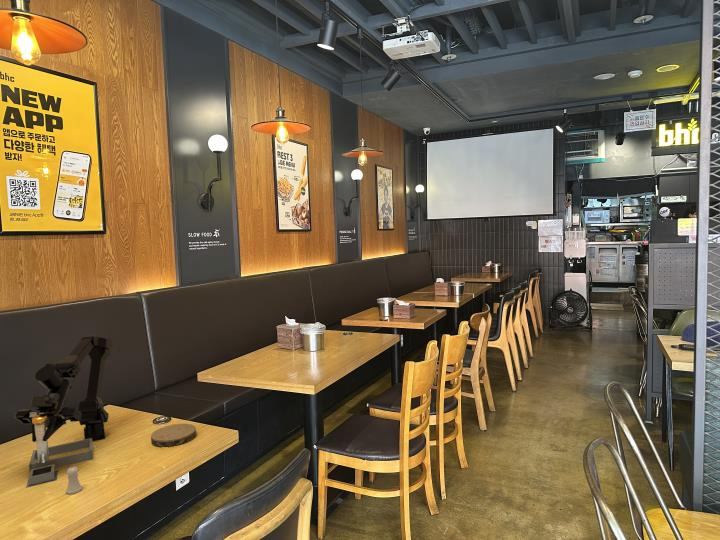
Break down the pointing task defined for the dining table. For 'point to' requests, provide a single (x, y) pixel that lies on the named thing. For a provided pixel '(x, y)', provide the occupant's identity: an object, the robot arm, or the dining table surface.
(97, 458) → the dining table surface
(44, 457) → the stop pin
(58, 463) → the pin tray
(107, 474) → the dining table surface
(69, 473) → the rook chess piece
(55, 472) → the bracket
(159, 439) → the wooden coaster disc
